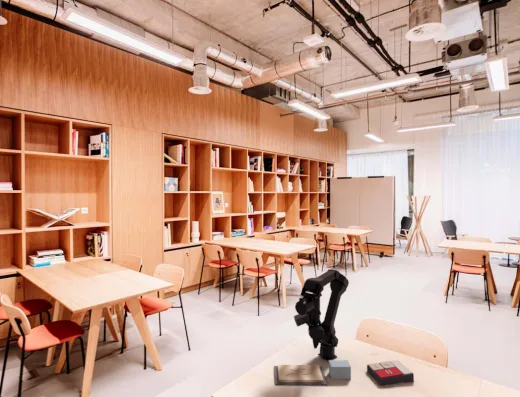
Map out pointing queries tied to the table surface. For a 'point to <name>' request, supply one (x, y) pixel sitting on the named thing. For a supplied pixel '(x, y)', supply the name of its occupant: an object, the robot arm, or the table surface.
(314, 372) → the board
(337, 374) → the block
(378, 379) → the black red beige box
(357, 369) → the table surface
